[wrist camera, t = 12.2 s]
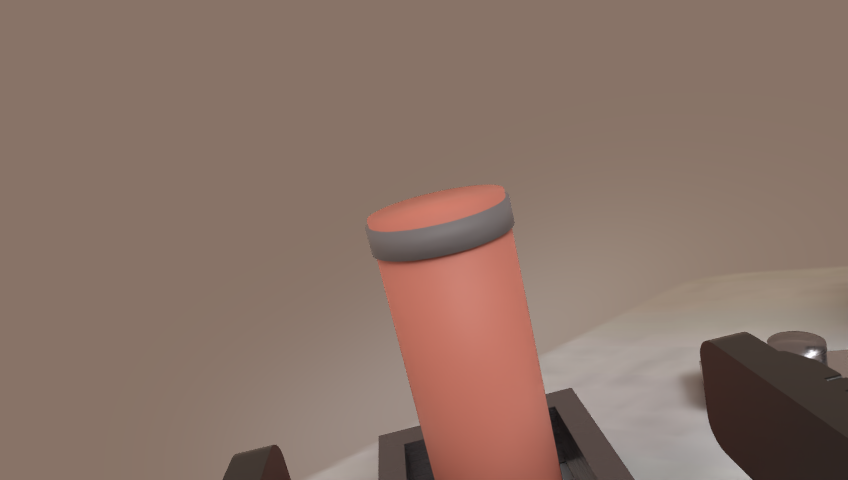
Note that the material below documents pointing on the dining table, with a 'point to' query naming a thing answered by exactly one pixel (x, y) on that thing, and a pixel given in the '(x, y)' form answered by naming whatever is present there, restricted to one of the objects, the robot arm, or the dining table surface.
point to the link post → (466, 333)
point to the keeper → (573, 433)
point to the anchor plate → (809, 349)
